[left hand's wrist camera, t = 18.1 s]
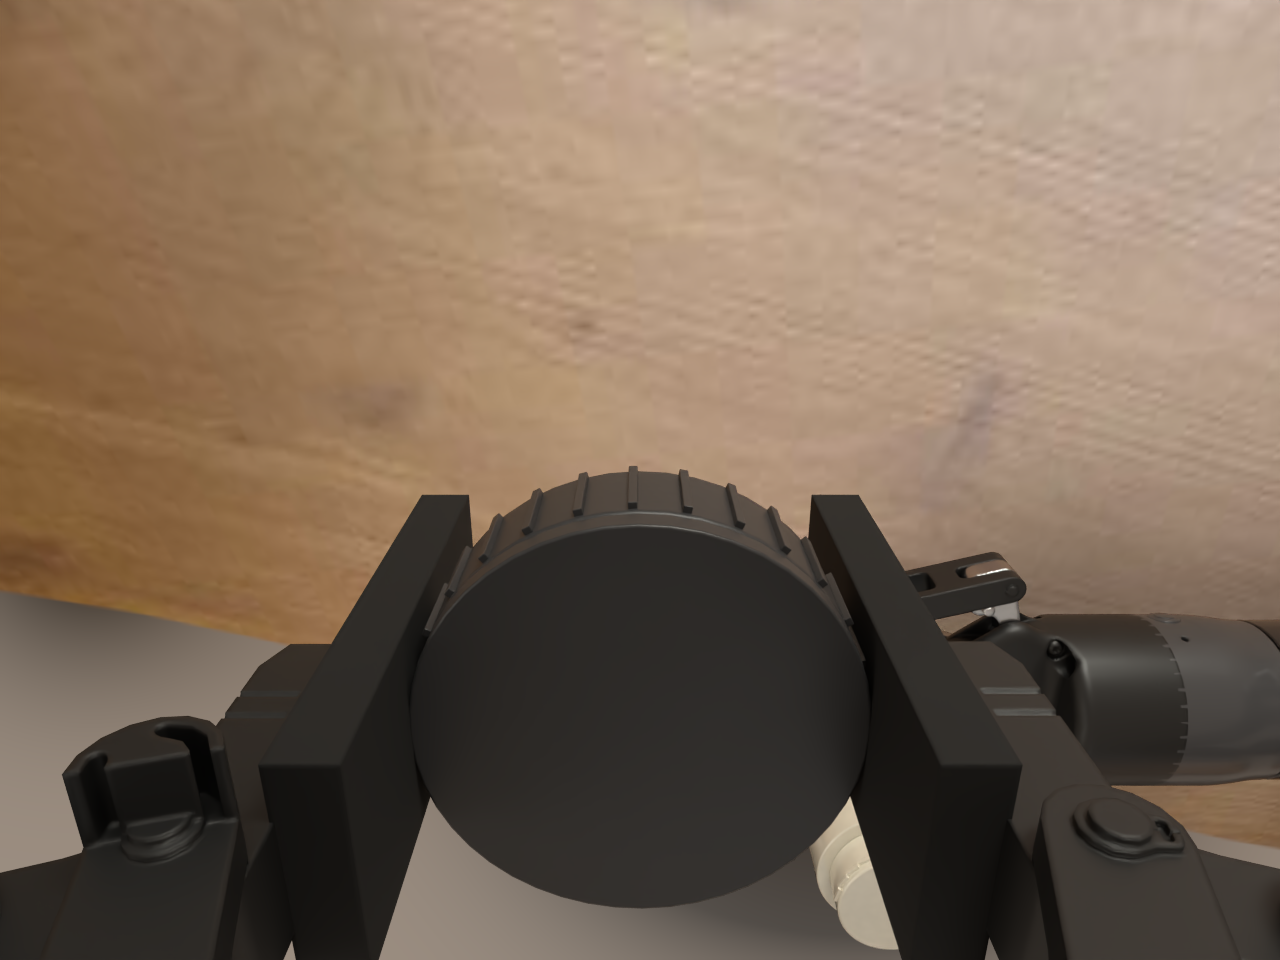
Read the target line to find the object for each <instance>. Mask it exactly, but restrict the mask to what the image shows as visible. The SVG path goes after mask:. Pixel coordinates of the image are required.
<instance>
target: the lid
mask: <svg viewBox="0 0 1280 960" xmlns="http://www.w3.org/2000/svg"><path fill="white" fill-rule="evenodd" d="M853 624H854V623H853V620H852V618H851V616H850V614H849V611H848V609H847V607H846V604H845V602H844V600H843V598H842V595H841V593H840V591H839V588H838V586H837V584H836V582H835V579H834V577H833V575H832V573H828V574H826V575H825V574H824V572H823V569H822V568H821V565H820V563H819V561H818V558H817V556H816V554H815V551H814V549H813V546H812V544H811V542H810V540H809V539H808V538H807V537H804V538H803V539H801V540H800V538H799V537H798V536H797V535H796V534H795V533H794V532H793V531H792V530H791V529H790V528H789V527H788V526H787V525H786V524H784V523H783V522H782V521H781V519H780V517H779V514H778V511H777V509H775V508H774V507H772V506H770V507H769V509H768V510H766V509H765V508H763V507H762V506H760V505H758V504H757V503H755V502H754V501H752V500H750V499H749V498H747V497H745V496H743V495H740V494H738V493H737V490H736V486H735V485H732V484H730V483H728V484H727V486H726V488H725V487H723V486H720V485H717V484H714V483H710V482H707V481H704V480H700V479H697V478H693V477H689V475H688V471H687V470H681V469H680V471H679V475H676V474H671V473H661V472H641V471H638V467H637V466H629V472H621V473H608V474H603V475H598V476H593V477H588V473H587V472H585V473H581V474H579V478H578V480H576V481H573V482H570V483H567V484H564V485H561V486H558V487H555V488H553V489H551V490H548V491H546V492H544V493H543V492H542V491H541V489H540V488H539V489H537V490H535V491H533V493H532V496H531V499H530V500H528V501H526V502H525V503H523V504H522V505H520V506H519V507H517V508H516V509H514V510H513V511H511V512H510V513H508V514H507V515H505V516H504V517H502V516H501V515H500V514H497V515H496V516H495V517H494V518H493V520H492V523H491V525H490V528H489V530H488V531H487V532H486V533H485V534H484V535H483V536H482V538H481V539H480V540H479V541H478V542H477V543H476V545H475V546H474V547H473V548H472V549H471V548H470V547H468V546H466V547H465V548H464V550H463V551H462V553H461V556H460V558H459V560H458V563H457V565H456V567H455V570H454V572H453V574H452V577H451V579H450V581H449V584H446V583H444V585H443V587H442V589H441V592H440V594H439V596H438V598H437V601H436V603H435V605H434V607H433V610H432V612H431V614H430V617H429V619H428V621H427V623H426V626H425V628H424V630H423V633H422V636H424V637H427V638H428V639H427V641H426V644H425V646H424V648H423V651H422V653H421V655H420V658H419V660H418V663H417V667H416V671H415V674H414V678H413V682H412V685H411V694H410V704H409V716H410V726H411V735H412V743H413V751H414V757H415V762H416V764H417V767H418V770H419V772H420V775H421V778H422V780H423V783H424V786H425V787H426V789H427V791H428V793H429V795H430V796H431V798H432V800H433V802H434V804H435V806H436V807H437V809H438V810H439V811H440V813H441V814H442V815H443V817H444V818H445V819H446V821H447V822H448V823H449V825H450V826H451V827H452V829H453V830H454V831H455V832H456V833H457V834H458V835H459V836H460V837H461V838H462V839H463V840H464V841H465V842H466V843H467V844H468V845H469V846H470V847H471V848H473V849H474V850H475V851H476V852H478V853H479V854H480V855H481V856H483V857H484V858H485V859H486V860H488V861H489V862H490V863H492V864H493V865H495V866H497V867H498V868H500V869H501V870H503V871H504V872H506V873H508V874H509V875H511V876H512V877H515V878H517V879H519V880H521V881H523V882H525V883H527V884H529V885H531V886H533V887H535V888H538V889H541V890H543V891H546V892H549V893H552V894H555V895H557V896H560V897H564V898H568V899H572V900H576V901H580V902H584V903H588V904H595V905H602V906H609V907H619V908H659V907H672V906H679V905H685V904H691V903H697V902H701V901H705V900H709V899H712V898H716V897H720V896H724V895H726V894H729V893H732V892H734V891H737V890H740V889H742V888H745V887H748V886H750V885H752V884H754V883H756V882H758V881H760V880H762V879H764V878H766V877H768V876H770V875H771V874H773V873H775V872H776V871H778V870H779V869H781V868H782V867H784V866H785V865H787V864H788V863H790V862H792V861H793V860H795V859H796V858H797V857H798V856H799V855H801V854H802V853H803V852H804V851H805V850H806V849H808V848H809V847H810V846H811V845H812V844H814V843H815V842H816V841H817V839H818V838H819V837H820V836H821V835H822V834H823V833H824V832H825V831H826V830H827V829H828V828H829V827H830V825H831V824H832V823H833V822H834V820H835V819H836V817H837V816H838V815H839V813H840V812H841V810H842V809H843V808H844V806H845V805H846V803H847V801H848V799H849V797H850V795H851V794H852V792H853V790H854V788H855V786H856V784H857V782H858V779H859V777H860V774H861V771H862V768H863V765H864V762H865V759H866V755H867V748H868V740H869V731H870V722H871V700H870V692H869V685H868V680H867V676H866V673H865V670H864V668H865V666H866V659H865V657H864V654H863V652H862V650H861V647H860V645H859V643H858V640H857V638H856V636H855V633H854V631H853V629H852V626H851V625H853Z"/></svg>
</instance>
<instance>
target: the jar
mask: <svg viewBox="0 0 1280 960" xmlns="http://www.w3.org/2000/svg"><path fill="white" fill-rule="evenodd" d="M809 849H810V853H811V858H812V862H813V866H814V870H815V875H816V879H817V883H818V886H819V889H820V891H821V894H822V895H823V897H824V898H825V899H826V901H827V902H828V903H829V904H830V905H831V906H832V907H833V908H834V909H836V910H837V912H838V917H839V920H840V922H841V924H842V926H843V927H844V929H845V930H846V931H847V932H848V933H849V934H850V936H852V937H853V938H854V939H856V940H857V941H859V942H861V943H863V944H865V945H867V946H870V947H874V948H879V949H887V950H896V949H898V946H897V942H896V939H895V936H894V933H893V930H892V927H891V924H890V920H889V917H888V914H887V911H886V908H885V905H884V902H883V898H882V895H881V892H880V889H879V886H878V883H877V879H876V876H875V873H874V870H873V867H872V864H871V861H870V857H869V854H868V851H867V848H866V845H865V842H864V839H863V835H862V832H861V829H860V826H859V823H858V820H857V817H856V813H855V810H854V807H853V804H852V801H851V798H850V797H849V799H848V801H847V803H846V805H845V806H844V808H843V809H842V810H841V812H840V813H839V815H838V816H837V817H836V819H835V820H834V822H833V823H832V824H831V825H830V827H829V828H828V829H827V830H826V831H825V832H824V833H823V834H822V835H821V836H820V837H819V838H818V839H817V841H816V842H815V843H814V844H812V845H811V846H810V847H809Z"/></svg>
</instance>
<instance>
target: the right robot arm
mask: <svg viewBox="0 0 1280 960" xmlns="http://www.w3.org/2000/svg"><path fill="white" fill-rule="evenodd" d="M905 572H906V574H907V576H908V577H909V579H910V580H911V582H912V584H913V585H914V587H915V589H916V590H917V592H918V594H919V595H920V597H921V599H922V600H923V602H924V603H925V605H926V607H927V608H928V610H929V612H930V613H931V615H932V617H933V618H934V620H936V619H941V618H945V617H950V616H954V615H959V614H964V613H968V612H973V613H974V614H976V615H980V616H982V615H984V616H983V617H981V618H979V619H978V620H976V621H974V622H972V623H971V624H969V625H967V626H965V627H964V628H962V629H960V630H958V631H957V632H955V633H953V634H951V633H948V632H945V631H942V630H941V631H942V633H943V635H944V636H945V638H946V640H947V641H991V642H992V643H993V644H995V645H996V646H998V647H999V648H1001V649H1002V650H1003V651H1005V652H1006V653H1008V654H1009V655H1011V656H1012V657H1014V658H1015V659H1016V660H1018V661H1019V662H1021V663H1022V664H1023V665H1024V667H1025V668H1026V670H1027V671H1028V672H1029V674H1030V675H1031V676H1032V678H1033V679H1034V681H1035V682H1036V683H1037V685H1038V686H1039V687H1040V689H1041V690H1040V691H1041V694H1045V696H1046V697H1047V699H1048V700H1049V701H1050V703H1051V704H1052V705H1053V707H1054V708H1055V710H1056V715H1057V716H1061V718H1062V719H1063V721H1064V722H1065V723H1066V725H1067V726H1068V727H1069V729H1070V730H1071V732H1072V733H1073V734H1074V736H1075V737H1076V739H1077V740H1078V741H1079V743H1080V744H1081V745H1082V747H1083V748H1084V750H1085V751H1086V752H1087V754H1088V755H1089V756H1090V758H1091V759H1092V761H1093V762H1094V763H1095V765H1096V766H1097V768H1098V769H1099V770H1100V772H1101V773H1102V774H1103V776H1104V777H1105V779H1106V780H1107V781H1108V783H1109V784H1110V785H1127V786H1203V785H1218V784H1227V783H1234V782H1240V781H1247V780H1261V779H1280V620H1225V619H1217V618H1210V617H1203V616H1194V615H1179V614H1164V613H1155V614H1044V615H1039V616H1036V617H1034V618H1030V617H1027V616H1025V615H1023V614H1021V613H1019V605H1018V601H1019V600H1020V599H1022V598H1023V596H1024V595H1025V593H1026V584H1025V582H1024V581H1023V580H1022V579H1021V578H1020V577H1019V575H1018V574H1017V573H1016V572H1015V571H1014V570H1013V569H1012V567H1011V566H1010V565H1009V564H1008V563H1007V562H1006V561H1005V559H1004V558H1003V557H1002V556H1001V555H1000V554H998V553H995V552H989V553H985V554H980V555H976V556H971V557H967V558H962V559H958V560H953V561H949V562H944V563H940V564H935V565H931V566H926V567H922V568H917V569H913V570H908V571H905Z"/></svg>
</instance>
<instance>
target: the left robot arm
mask: <svg viewBox="0 0 1280 960" xmlns="http://www.w3.org/2000/svg"><path fill="white" fill-rule="evenodd" d="M808 539H809V540H810V542H811V544H812V546H813V549H814V551H815V554H816V556H817V558H818V561H819V563H820V565H821V568H822V569H823V572H824V574H825V575H826V574H828V573H832V575H833V577H834V579H835V582H836V584H837V586H838V588H839V591H840V593H841V595H842V598H843V600H844V602H845V604H846V607H847V609H848V611H849V614H850V616H851V618H852V620H853V623H854V624H853V625H851V626H852V629H853V631H854V633H855V636H856V638H857V640H858V643H859V645H860V647H861V650H862V652H863V654H864V657H865V659H866V666H865V668H864V670H865V673H866V676H867V680H868V685H869V692H870V700H871V722H870V731H869V740H868V748H867V755H866V759H865V762H864V765H863V768H862V771H861V774H860V777H859V779H858V782H857V784H856V786H855V788H854V790H853V792H852V794H851V795H850V798H851V801H852V804H853V807H854V810H855V813H856V817H857V820H858V823H859V826H860V829H861V832H862V835H863V839H864V842H865V845H866V848H867V851H868V854H869V857H870V861H871V864H872V867H873V870H874V873H875V876H876V879H877V883H878V886H879V889H880V892H881V895H882V898H883V902H884V905H885V908H886V911H887V914H888V917H889V920H890V924H891V927H892V930H893V933H894V936H895V939H896V942H897V946H898V949H899V952H900V955H901V958H902V960H985V955H986V950H987V945H988V940H989V938H990V940H991V942H992V945H993V947H994V949H995V951H996V954H997V956H998V958H999V960H1280V869H1277V868H1273V867H1269V866H1264V865H1260V864H1255V863H1251V862H1247V861H1242V860H1238V859H1233V858H1229V857H1225V856H1220V855H1217V854H1213V853H1210V852H1207V851H1203V850H1200V849H1197V846H1196V845H1195V843H1194V842H1193V840H1192V839H1191V837H1190V836H1189V834H1188V833H1187V831H1186V830H1185V828H1184V827H1183V826H1182V825H1181V824H1180V823H1179V822H1177V821H1176V820H1175V819H1174V818H1173V817H1171V816H1170V815H1169V814H1168V813H1166V812H1165V811H1164V810H1163V809H1162V808H1160V807H1158V806H1156V805H1154V804H1153V803H1151V802H1149V801H1147V800H1145V799H1143V798H1141V797H1139V796H1137V795H1135V794H1133V793H1130V792H1126V791H1123V790H1119V789H1116V788H1112V787H1111V785H1110V784H1109V783H1108V781H1107V780H1106V779H1105V777H1104V776H1103V774H1102V773H1101V772H1100V770H1099V769H1098V768H1097V766H1096V765H1095V763H1094V762H1093V761H1092V759H1091V758H1090V756H1089V755H1088V754H1087V752H1086V751H1085V750H1084V748H1083V747H1082V745H1081V744H1080V743H1079V741H1078V740H1077V739H1076V737H1075V736H1074V734H1073V733H1072V732H1071V730H1070V729H1069V727H1068V726H1067V725H1066V723H1065V722H1064V721H1063V719H1062V718H1061V716H1057V715H1056V710H1055V708H1054V707H1053V705H1052V704H1051V703H1050V701H1049V700H1048V699H1047V697H1046V696H1045V694H1041V691H1040V690H1041V689H1040V687H1039V686H1038V685H1037V683H1036V682H1035V681H1034V679H1033V678H1032V676H1031V675H1030V674H1029V672H1028V671H1027V670H1026V668H1025V667H1024V665H1023V664H1022V663H1021V662H1019V661H1018V660H1016V659H1015V658H1014V657H1012V656H1011V655H1009V654H1008V653H1006V652H1005V651H1003V650H1002V649H1001V648H999V647H998V646H996V645H995V644H993V643H992V642H991V641H947V640H946V638H945V636H944V635H943V633H942V631H941V630H940V628H939V626H938V625H937V623H936V622H935V620H934V618H933V617H932V615H931V613H930V612H929V610H928V608H927V607H926V605H925V603H924V602H923V600H922V599H921V597H920V595H919V594H918V592H917V590H916V589H915V587H914V585H913V584H912V582H911V580H910V579H909V577H908V576H907V574H906V572H905V571H904V569H903V567H902V566H901V564H900V562H899V561H898V559H897V557H896V556H895V554H894V553H893V551H892V549H891V548H890V546H889V544H888V543H887V541H886V539H885V538H884V536H883V534H882V533H881V531H880V530H879V528H878V526H877V525H876V523H875V521H874V520H873V518H872V516H871V515H870V513H869V511H868V510H867V508H866V507H865V505H864V503H863V502H862V500H861V498H860V497H859V495H812V498H811V511H810V524H809V537H808ZM466 546H468V547H470V548H471V549H472V548H473V543H472V530H471V517H470V504H469V495H422V496H421V498H420V499H419V501H418V502H417V504H416V506H415V507H414V509H413V511H412V512H411V514H410V516H409V517H408V519H407V521H406V522H405V524H404V526H403V527H402V529H401V530H400V532H399V534H398V535H397V537H396V539H395V540H394V542H393V544H392V545H391V547H390V549H389V550H388V552H387V553H386V555H385V557H384V558H383V560H382V562H381V563H380V565H379V567H378V568H377V570H376V572H375V573H374V575H373V576H372V578H371V580H370V581H369V583H368V585H367V586H366V588H365V590H364V591H363V593H362V595H361V596H360V598H359V599H358V601H357V603H356V604H355V606H354V608H353V609H352V611H351V613H350V614H349V616H348V618H347V619H346V621H345V622H344V624H343V626H342V627H341V629H340V631H339V632H338V634H337V636H336V637H335V639H334V641H333V642H332V644H290V645H289V646H287V647H286V648H284V649H283V650H281V651H280V652H279V653H277V654H276V655H274V656H273V657H271V658H270V659H269V660H267V661H266V662H264V663H263V664H261V665H260V666H259V667H258V668H257V670H256V671H255V672H254V674H253V675H252V677H251V678H250V679H249V681H248V682H247V684H246V685H245V686H244V688H243V689H242V691H241V695H240V697H237V698H236V699H235V700H234V702H233V703H232V704H231V706H230V707H229V709H228V710H227V711H226V713H225V719H221V720H220V721H219V723H218V724H217V725H216V726H215V725H214V724H213V723H211V722H210V721H208V720H203V719H199V718H195V717H190V716H177V717H160V718H156V719H152V720H148V721H144V722H140V723H136V724H132V725H129V726H127V727H125V728H122V729H120V730H118V731H116V732H113V733H111V734H109V735H107V736H105V737H102V738H100V739H99V740H98V741H96V742H95V743H94V744H92V745H91V746H89V747H88V748H87V749H85V750H84V751H82V752H81V753H80V754H78V755H77V756H76V757H75V759H74V760H73V761H72V762H71V764H70V765H69V766H68V767H67V769H66V770H65V771H64V773H63V774H62V776H63V780H64V783H65V786H66V790H67V793H68V796H69V800H70V803H71V807H72V810H73V813H74V817H75V820H76V823H77V827H78V830H79V834H80V837H81V840H82V844H83V847H84V848H83V850H82V853H80V854H76V855H73V856H70V857H66V858H63V859H59V860H54V861H50V862H46V863H42V864H37V865H33V866H28V867H24V868H19V869H15V870H11V871H6V872H2V873H0V960H283V959H284V957H285V955H286V952H287V950H288V948H289V946H290V943H291V941H292V942H293V947H294V953H295V958H296V960H379V957H380V953H381V950H382V947H383V944H384V941H385V938H386V935H387V931H388V928H389V925H390V922H391V919H392V916H393V913H394V909H395V906H396V903H397V900H398V897H399V894H400V891H401V887H402V884H403V881H404V878H405V875H406V872H407V868H408V865H409V862H410V859H411V856H412V853H413V850H414V846H415V843H416V840H417V837H418V834H419V831H420V828H421V824H422V821H423V818H424V815H425V812H426V809H427V805H428V802H429V799H430V795H429V793H428V791H427V789H426V787H425V786H424V783H423V780H422V778H421V775H420V772H419V770H418V767H417V764H416V762H415V757H414V751H413V743H412V735H411V726H410V716H409V704H410V694H411V685H412V682H413V678H414V674H415V671H416V667H417V663H418V660H419V658H420V655H421V653H422V651H423V648H424V646H425V644H426V641H427V639H428V638H427V637H424V636H422V633H423V630H424V628H425V626H426V623H427V621H428V619H429V617H430V614H431V612H432V610H433V607H434V605H435V603H436V601H437V598H438V596H439V594H440V592H441V589H442V587H443V585H444V583H446V584H449V581H450V579H451V577H452V574H453V572H454V570H455V567H456V565H457V563H458V560H459V558H460V556H461V553H462V551H463V550H464V548H465V547H466Z"/></svg>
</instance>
